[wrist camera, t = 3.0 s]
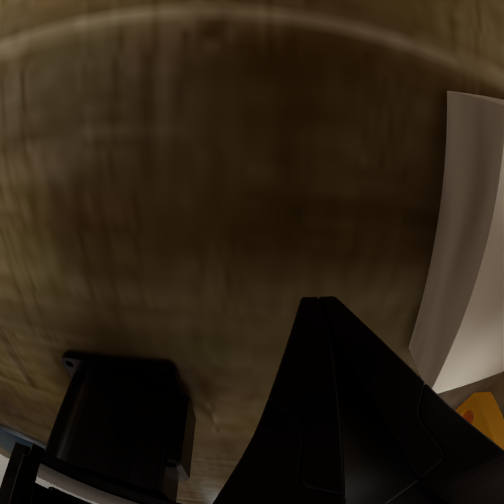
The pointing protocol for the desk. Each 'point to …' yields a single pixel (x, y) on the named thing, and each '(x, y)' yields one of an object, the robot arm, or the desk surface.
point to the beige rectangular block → (466, 253)
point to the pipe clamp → (484, 416)
